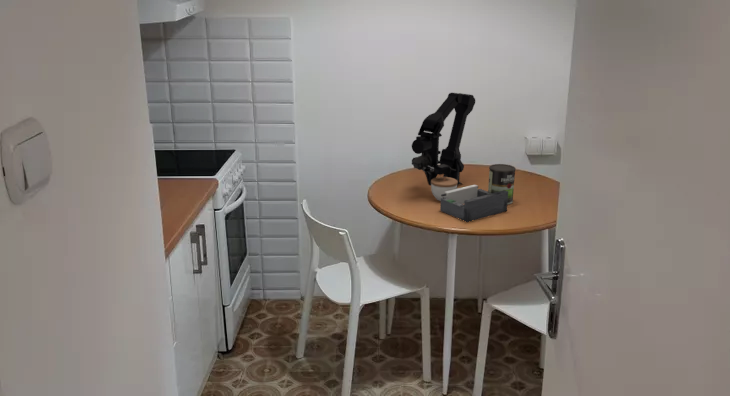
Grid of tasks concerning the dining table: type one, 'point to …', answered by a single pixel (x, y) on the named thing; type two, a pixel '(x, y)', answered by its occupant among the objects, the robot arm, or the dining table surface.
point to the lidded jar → (442, 186)
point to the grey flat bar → (462, 193)
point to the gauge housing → (476, 205)
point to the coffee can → (502, 179)
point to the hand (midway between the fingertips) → (430, 185)
